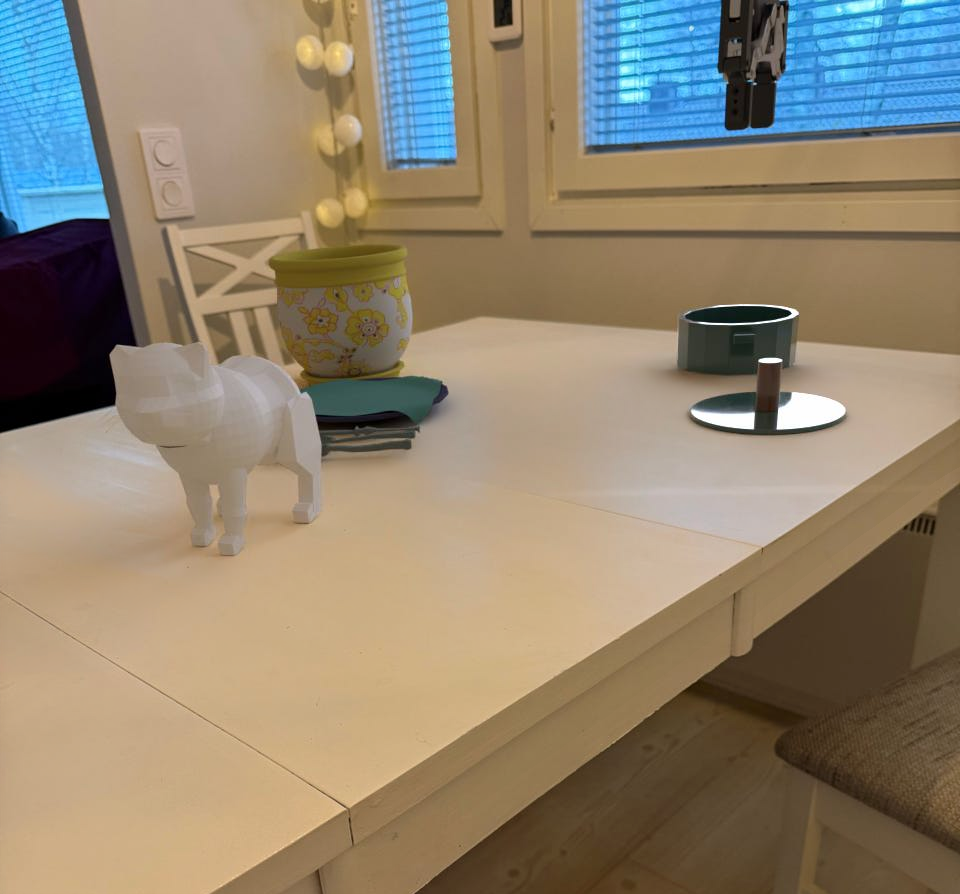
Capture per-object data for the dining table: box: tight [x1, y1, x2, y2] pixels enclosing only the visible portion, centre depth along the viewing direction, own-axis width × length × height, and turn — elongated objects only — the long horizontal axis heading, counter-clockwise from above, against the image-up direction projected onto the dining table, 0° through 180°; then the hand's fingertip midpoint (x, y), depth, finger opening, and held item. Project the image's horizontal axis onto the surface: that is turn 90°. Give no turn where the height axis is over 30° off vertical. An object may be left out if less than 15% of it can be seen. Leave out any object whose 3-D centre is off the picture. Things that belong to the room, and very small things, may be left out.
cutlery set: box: [299, 375, 449, 458], centre depth 109 cm, size 20×30×2 cm, turn 176°
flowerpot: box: [268, 243, 413, 386], centre depth 127 cm, size 18×18×16 cm
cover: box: [689, 358, 847, 435], centre depth 98 cm, size 16×16×6 cm
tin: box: [676, 304, 800, 376], centre depth 121 cm, size 15×20×6 cm
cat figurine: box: [98, 341, 323, 556], centre depth 77 cm, size 25×10×17 cm, turn 164°
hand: (749, 129), depth 89 cm, fingers open, 8 cm apart
